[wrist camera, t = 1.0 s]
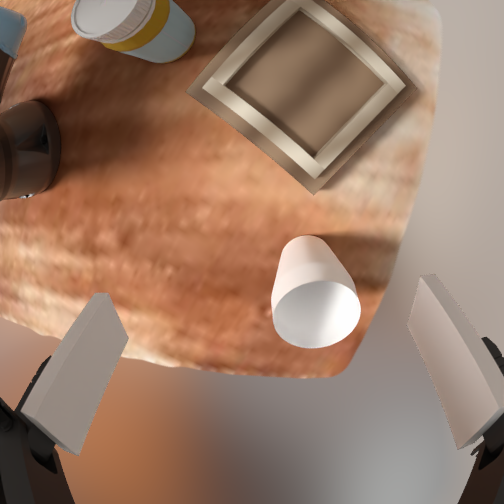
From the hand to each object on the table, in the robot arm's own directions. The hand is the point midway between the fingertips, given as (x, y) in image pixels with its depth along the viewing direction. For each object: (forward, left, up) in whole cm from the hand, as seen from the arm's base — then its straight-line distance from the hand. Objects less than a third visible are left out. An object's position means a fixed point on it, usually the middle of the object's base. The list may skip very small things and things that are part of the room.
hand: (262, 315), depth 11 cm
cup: (+11, -5, -25) cm, 27 cm away
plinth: (-4, +11, -24) cm, 27 cm away
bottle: (-20, +6, -25) cm, 32 cm away
